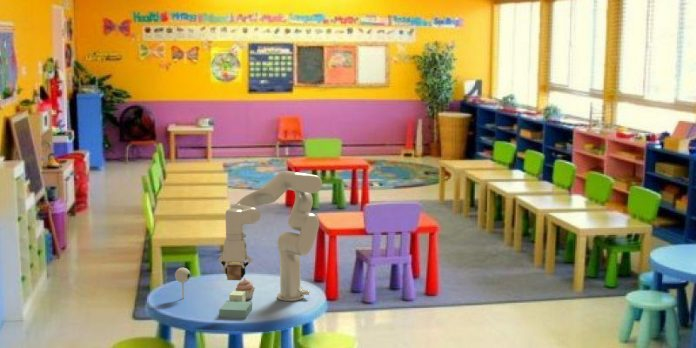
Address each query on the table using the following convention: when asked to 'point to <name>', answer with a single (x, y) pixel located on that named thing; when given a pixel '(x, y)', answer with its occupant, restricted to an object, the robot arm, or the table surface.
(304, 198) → the robot arm
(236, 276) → the walnut cube
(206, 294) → the table surface
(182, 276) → the lollipop
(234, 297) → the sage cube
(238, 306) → the base block
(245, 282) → the cupcake
